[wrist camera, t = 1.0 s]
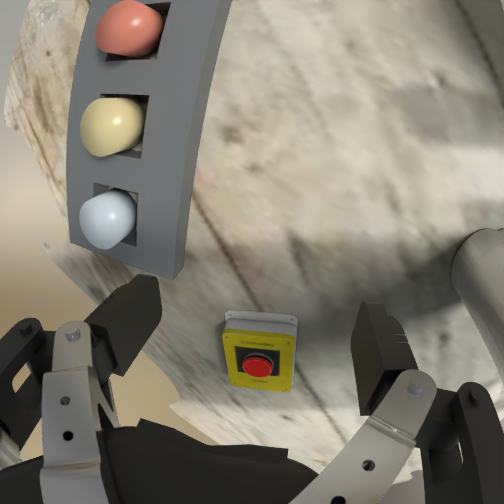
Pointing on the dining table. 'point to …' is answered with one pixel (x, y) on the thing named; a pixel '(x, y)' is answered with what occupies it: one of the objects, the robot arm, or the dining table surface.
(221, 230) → the dining table surface
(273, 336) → the emergency button
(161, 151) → the control panel
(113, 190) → the blue button
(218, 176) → the dining table surface
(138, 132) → the ochre button
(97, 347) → the robot arm
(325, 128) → the dining table surface
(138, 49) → the red button
